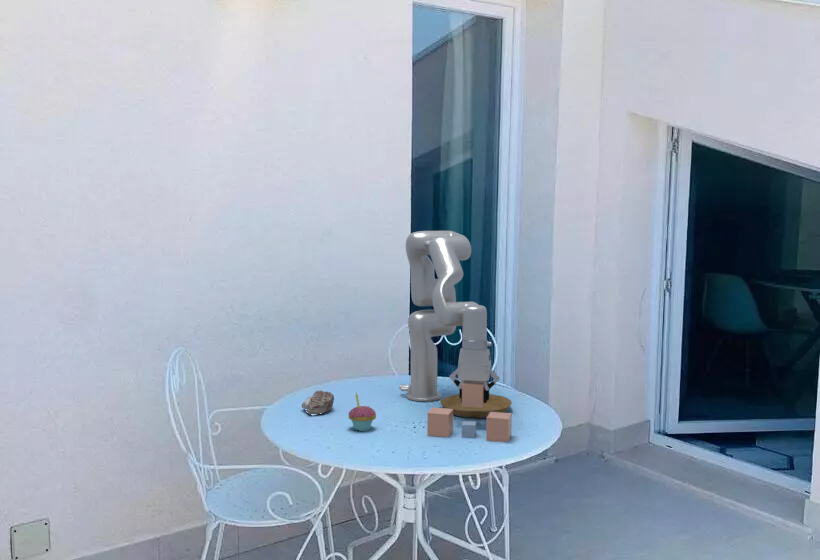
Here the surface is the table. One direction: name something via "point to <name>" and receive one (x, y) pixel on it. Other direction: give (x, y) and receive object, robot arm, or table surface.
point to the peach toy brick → (440, 422)
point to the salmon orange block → (498, 426)
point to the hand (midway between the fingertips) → (474, 400)
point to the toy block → (473, 394)
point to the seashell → (319, 402)
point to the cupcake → (362, 416)
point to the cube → (468, 429)
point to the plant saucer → (492, 405)
